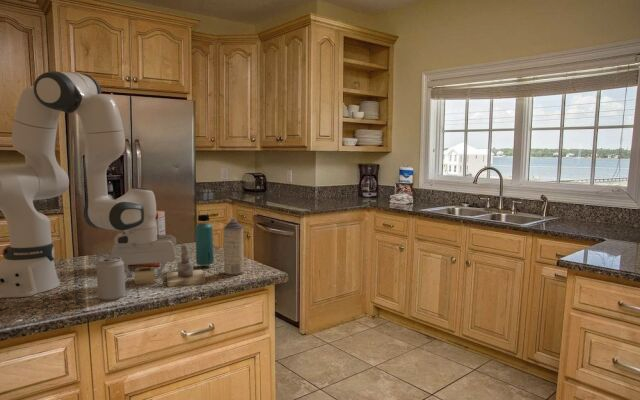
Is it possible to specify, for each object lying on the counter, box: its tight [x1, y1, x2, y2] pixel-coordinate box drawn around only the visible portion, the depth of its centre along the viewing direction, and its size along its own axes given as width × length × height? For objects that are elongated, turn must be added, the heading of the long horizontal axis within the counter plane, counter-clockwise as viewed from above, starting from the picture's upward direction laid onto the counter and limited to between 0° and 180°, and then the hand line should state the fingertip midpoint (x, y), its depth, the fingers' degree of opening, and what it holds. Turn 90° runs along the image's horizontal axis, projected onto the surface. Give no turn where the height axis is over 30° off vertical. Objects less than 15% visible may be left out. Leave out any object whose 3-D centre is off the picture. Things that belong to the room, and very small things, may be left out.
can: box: [96, 256, 126, 302], centre depth 131 cm, size 8×8×12 cm
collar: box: [134, 266, 156, 285], centre depth 148 cm, size 6×6×4 cm
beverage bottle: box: [195, 214, 215, 266], centre depth 166 cm, size 6×7×20 cm
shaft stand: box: [166, 244, 207, 288], centre depth 149 cm, size 12×12×12 cm
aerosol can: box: [223, 217, 245, 277], centre depth 158 cm, size 7×7×20 cm
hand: (144, 276), depth 148 cm, fingers open, 8 cm apart
